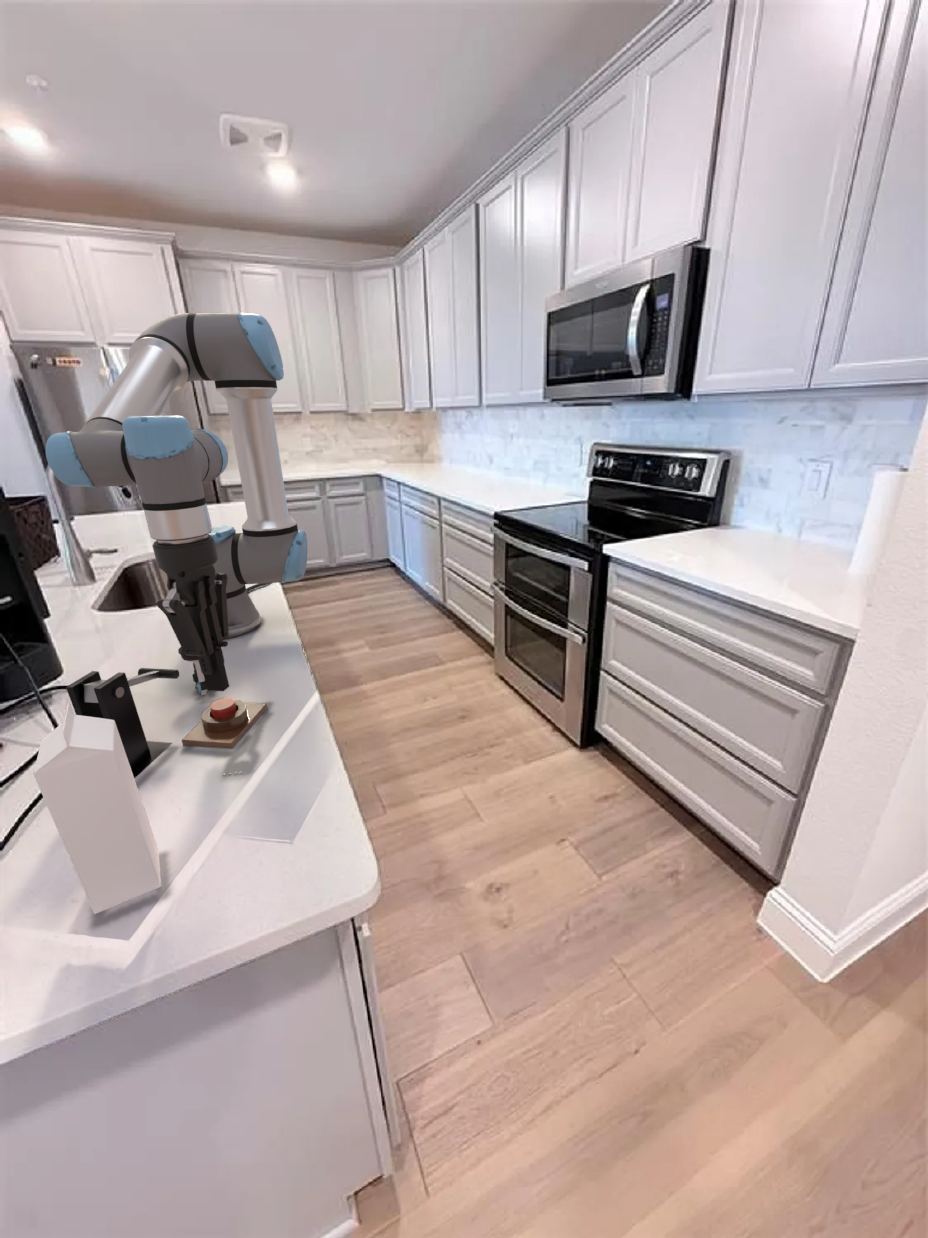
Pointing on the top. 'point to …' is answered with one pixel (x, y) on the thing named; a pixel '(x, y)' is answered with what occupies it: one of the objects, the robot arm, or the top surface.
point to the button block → (225, 726)
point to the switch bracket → (118, 716)
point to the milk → (98, 810)
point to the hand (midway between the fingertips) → (218, 688)
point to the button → (223, 708)
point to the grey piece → (195, 672)
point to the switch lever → (131, 680)
